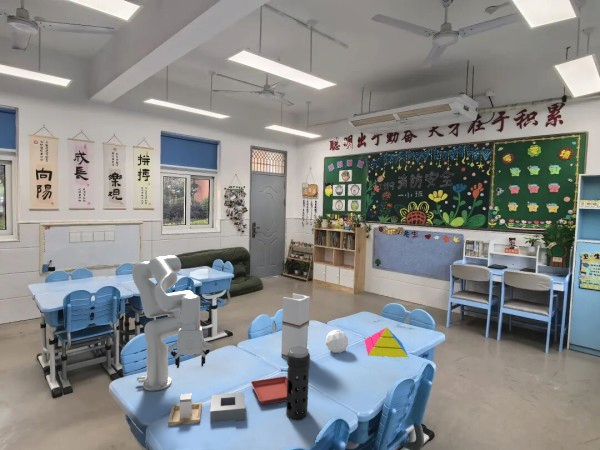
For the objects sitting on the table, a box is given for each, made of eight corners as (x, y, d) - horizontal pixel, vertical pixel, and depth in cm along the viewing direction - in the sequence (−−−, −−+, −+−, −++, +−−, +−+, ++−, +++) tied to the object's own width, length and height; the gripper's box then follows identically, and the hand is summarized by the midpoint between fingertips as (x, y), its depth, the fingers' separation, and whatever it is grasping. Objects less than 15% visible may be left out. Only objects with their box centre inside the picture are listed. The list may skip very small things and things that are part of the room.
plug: (179, 418, 146) (179, 399, 145) (180, 412, 150) (181, 394, 149) (190, 417, 147) (191, 399, 146) (191, 411, 151) (192, 393, 150)
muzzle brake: (300, 404, 160) (281, 412, 153) (302, 343, 157) (282, 348, 151) (314, 414, 152) (294, 423, 146) (316, 350, 150) (296, 357, 144)
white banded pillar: (308, 355, 209) (310, 296, 206) (298, 362, 200) (300, 300, 197) (291, 350, 215) (293, 293, 212) (281, 357, 206) (283, 297, 203)
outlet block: (210, 423, 144) (210, 411, 144) (211, 406, 156) (211, 394, 156) (245, 419, 147) (245, 408, 147) (243, 403, 159) (244, 392, 159)
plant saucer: (250, 387, 173) (250, 380, 173) (285, 381, 179) (286, 375, 179) (259, 408, 156) (259, 401, 156) (298, 401, 162) (298, 394, 162)
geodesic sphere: (335, 334, 227) (329, 321, 220) (355, 340, 219) (349, 326, 212) (325, 353, 219) (318, 340, 211) (345, 360, 211) (339, 347, 203)
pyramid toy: (410, 360, 209) (411, 336, 208) (366, 357, 211) (368, 333, 210) (402, 342, 234) (403, 321, 233) (363, 340, 236) (364, 319, 235)
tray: (168, 427, 141) (168, 422, 141) (172, 409, 153) (172, 404, 153) (199, 424, 144) (199, 419, 143) (201, 406, 155) (201, 402, 155)
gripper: (166, 329, 141) (166, 371, 143) (211, 327, 145) (211, 368, 146) (169, 323, 149) (169, 363, 150) (212, 321, 152) (212, 360, 153)
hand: (190, 365), depth 148 cm, fingers open, 9 cm apart
